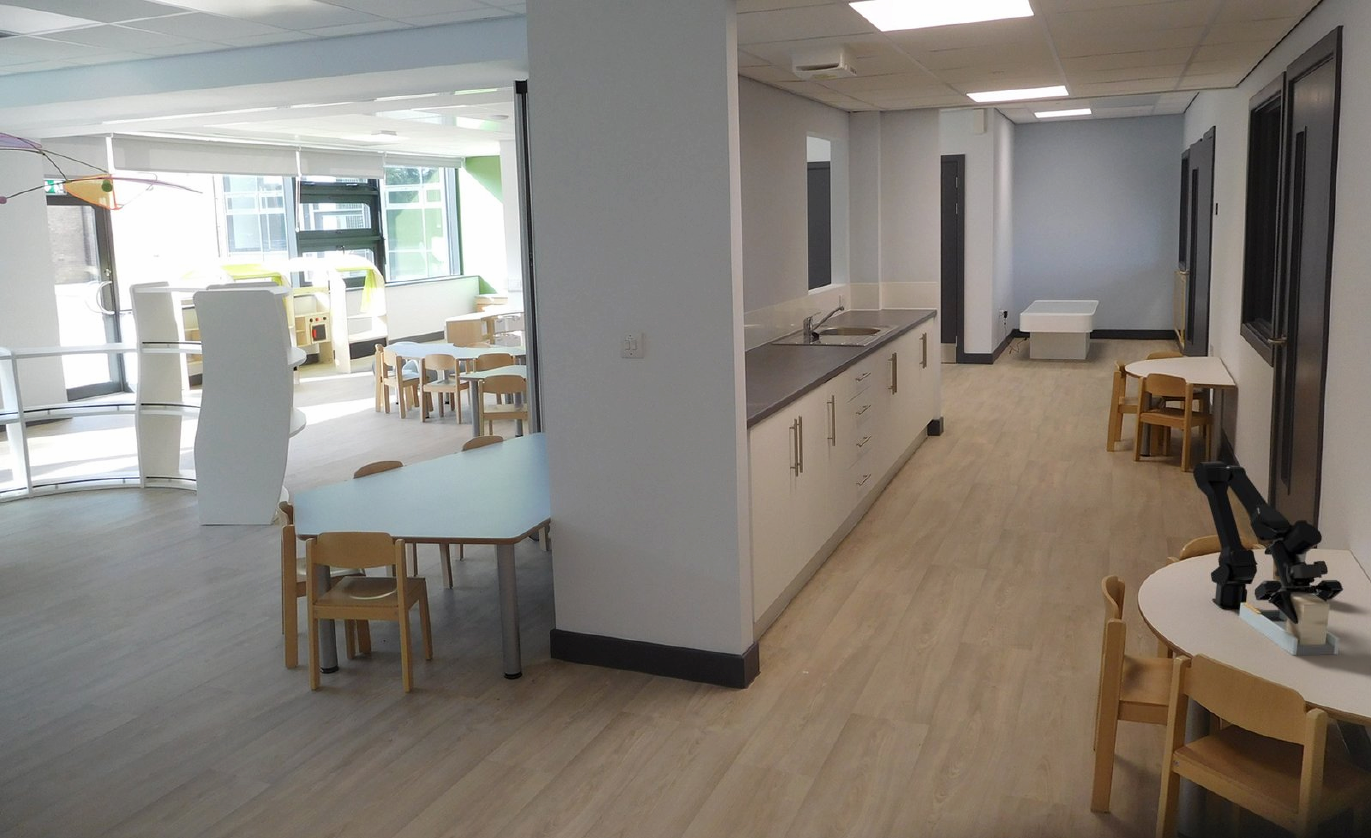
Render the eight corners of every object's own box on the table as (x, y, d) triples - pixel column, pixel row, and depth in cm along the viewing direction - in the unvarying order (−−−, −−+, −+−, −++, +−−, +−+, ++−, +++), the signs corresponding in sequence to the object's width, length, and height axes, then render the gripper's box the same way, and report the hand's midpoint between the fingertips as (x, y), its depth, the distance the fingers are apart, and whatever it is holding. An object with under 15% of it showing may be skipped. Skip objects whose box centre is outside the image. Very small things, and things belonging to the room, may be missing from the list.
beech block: (1285, 634, 262) (1289, 595, 260) (1310, 634, 262) (1314, 595, 260) (1300, 644, 256) (1304, 604, 254) (1325, 644, 256) (1329, 604, 254)
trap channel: (1239, 617, 279) (1240, 601, 278) (1280, 617, 279) (1282, 600, 278) (1292, 655, 255) (1294, 637, 254) (1337, 654, 255) (1339, 636, 254)
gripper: (1265, 548, 259) (1287, 609, 250) (1343, 547, 259) (1367, 608, 251) (1245, 569, 268) (1265, 628, 259) (1319, 568, 269) (1342, 628, 260)
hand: (1310, 623), depth 257 cm, fingers closed on beech block, 6 cm apart
